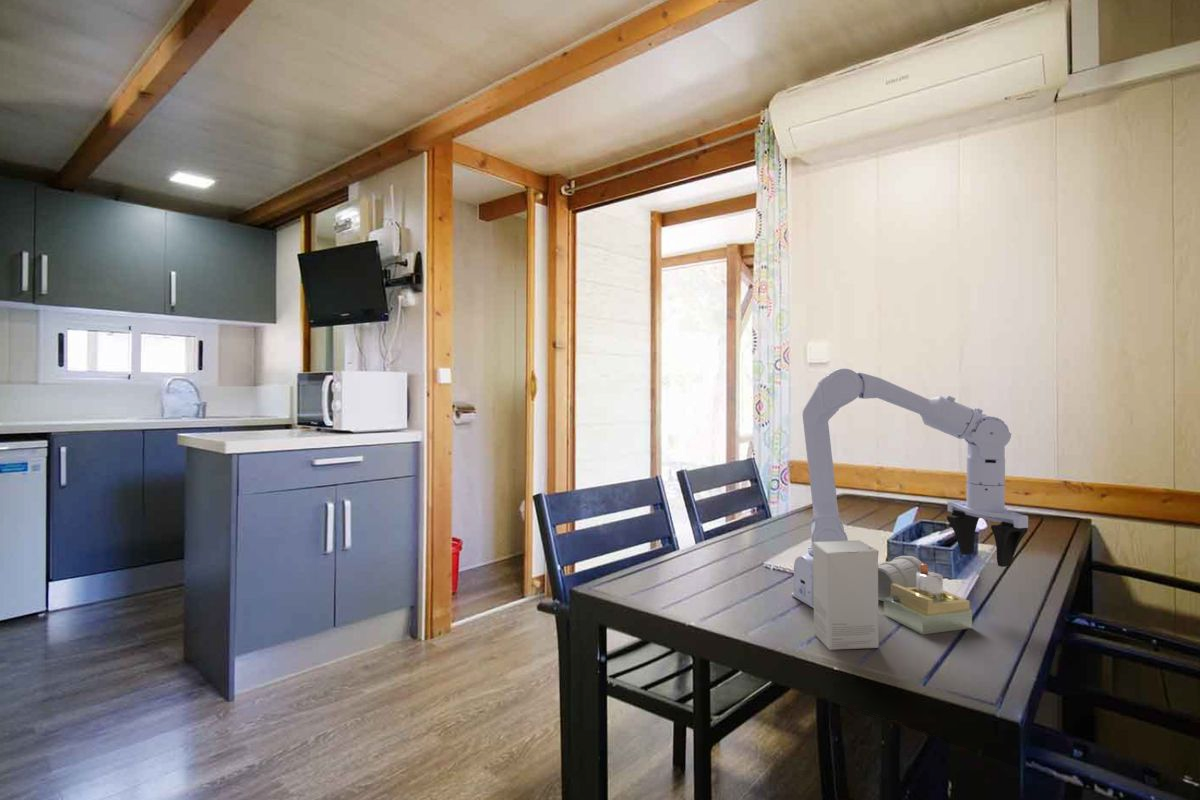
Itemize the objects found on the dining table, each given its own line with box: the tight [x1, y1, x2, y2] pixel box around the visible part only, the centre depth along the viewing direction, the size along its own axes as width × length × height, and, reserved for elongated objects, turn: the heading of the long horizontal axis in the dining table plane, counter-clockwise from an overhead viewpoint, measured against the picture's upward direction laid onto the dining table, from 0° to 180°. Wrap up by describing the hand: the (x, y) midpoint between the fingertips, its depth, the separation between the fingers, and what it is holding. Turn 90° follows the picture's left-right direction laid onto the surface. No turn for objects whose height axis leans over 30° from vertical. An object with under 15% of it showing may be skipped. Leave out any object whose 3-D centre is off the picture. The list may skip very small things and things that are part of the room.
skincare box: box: [813, 539, 880, 651], centre depth 95 cm, size 8×7×16 cm
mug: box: [878, 555, 930, 602], centre depth 116 cm, size 8×12×12 cm
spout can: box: [916, 562, 944, 603], centre depth 104 cm, size 4×4×6 cm
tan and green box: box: [883, 583, 973, 635], centre depth 104 cm, size 10×9×6 cm
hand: (984, 559), depth 106 cm, fingers open, 7 cm apart
